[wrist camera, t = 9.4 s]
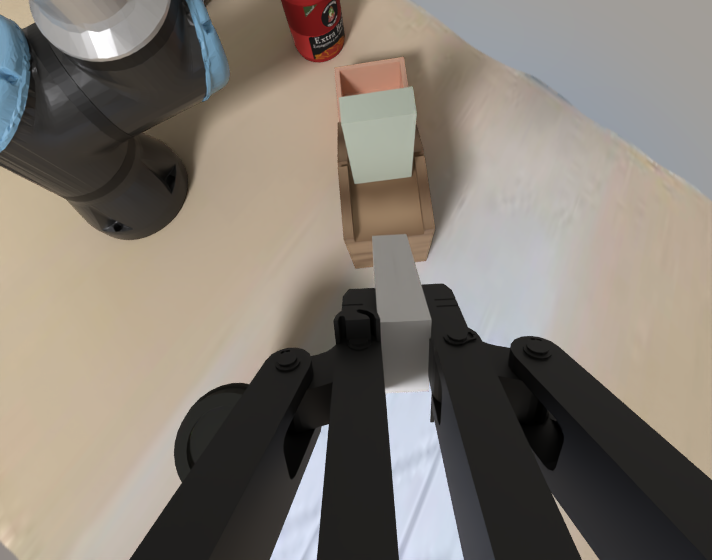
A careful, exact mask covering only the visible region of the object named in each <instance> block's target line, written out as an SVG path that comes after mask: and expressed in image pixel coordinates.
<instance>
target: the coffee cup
mask: <svg viewBox="0 0 712 560" xmlns="http://www.w3.org/2000/svg"><path fill="white" fill-rule="evenodd" d="M248 386H249V384H245V383H231V384H227V385H222V386H220V387H218V388H215V389H213V390H211V391H209V392H208V393H207V394H205V395H204V396H202V397H201V398H200V399H199V400H198V401H197V402H196V403H195V404H194V405H193V406H192V407H191V409H190V410H189V412H188V413H187V415H186V416H185V418H184V420H183V421H182V423H181V425H180V428H179V430H178V433H177V436H176V440H175V448H174V458H175V466H176V469H177V473H178V476H179V478H180V480H181V482H183V481H184V479H185V478H186V476H187V475H188V473H189V472H190V471H191V469H192V468H193V466H194V465H195V463H196V462H197V460H198V459H199V457H200V456H201V454H202V453H203V452H204V450H205V449H206V447H207V446H208V444H209V443H210V441H211V440H212V438H213V437H214V435H215V434H216V433H217V431H218V430H219V428H220V427H221V425H222V424H223V422H224V421H225V419H226V418H227V417H228V415H229V414H230V412H231V411H232V409H233V408H234V406H235V405H236V403H237V402H238V400H239V399H240V398H241V396H242V395H243V393H244V392H245V390H246V389H247V387H248Z"/></svg>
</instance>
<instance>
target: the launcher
mask: <svg viewBox="0 0 712 560" xmlns="http://www.w3.org/2000/svg"><path fill="white" fill-rule="evenodd" d="M338 175H339V188H340V200H341V212H342V224H343V236H344V241H345V244H346V246H347V249H348V251H349V254H350V256H351V259H352V261H353V264H354V266H355V269H357V268H366V267H373V245H372V236H381V235H399V234H406V235H407V238H408V241H409V245H410V248H411V252H412V255H413V258H414V262H420V261H426V259H427V256H428V252H429V249H430V245H431V242H432V238H433V235H434V231H435V224H434V217H433V210H432V203H431V196H430V190H429V183H428V176H427V169H426V162H425V156H424V151H423V147H422V143H421V140H420V136H419V132H418V129H417V125H416V127H415V139H414V151H413V163H412V175H411V177H406V178H398V179H390V180H383V181H375V182H367V183H359V184H354V179H353V175H352V170H351V166H350V161H349V157H348V152H347V148H346V143H345V139H344V134H343V130H342V125H341V122H338Z"/></svg>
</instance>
